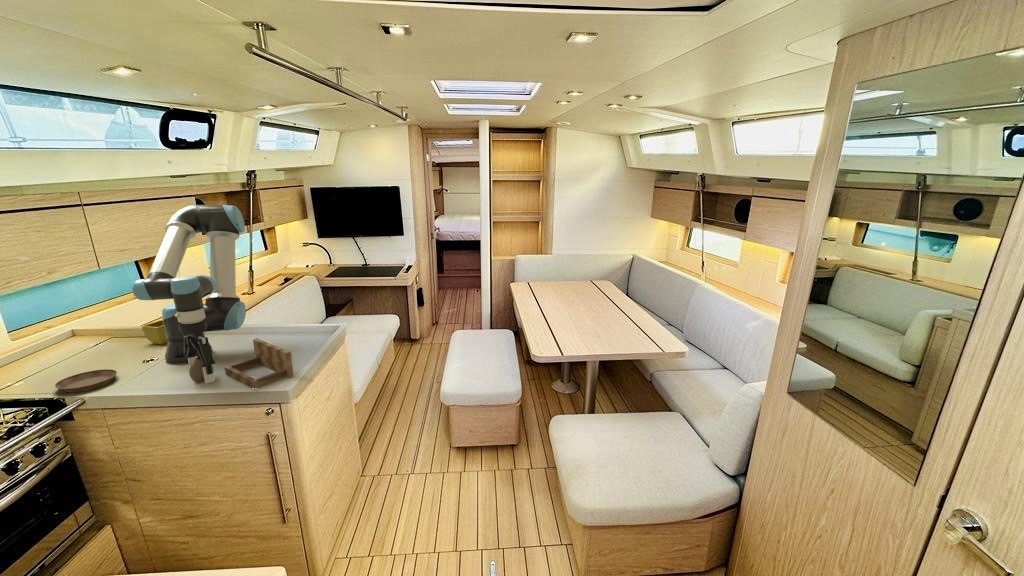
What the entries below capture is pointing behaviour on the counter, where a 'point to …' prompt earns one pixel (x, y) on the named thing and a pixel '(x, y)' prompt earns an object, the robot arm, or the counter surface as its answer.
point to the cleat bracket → (267, 357)
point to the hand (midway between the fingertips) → (202, 377)
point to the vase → (197, 371)
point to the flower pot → (155, 332)
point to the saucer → (86, 380)
